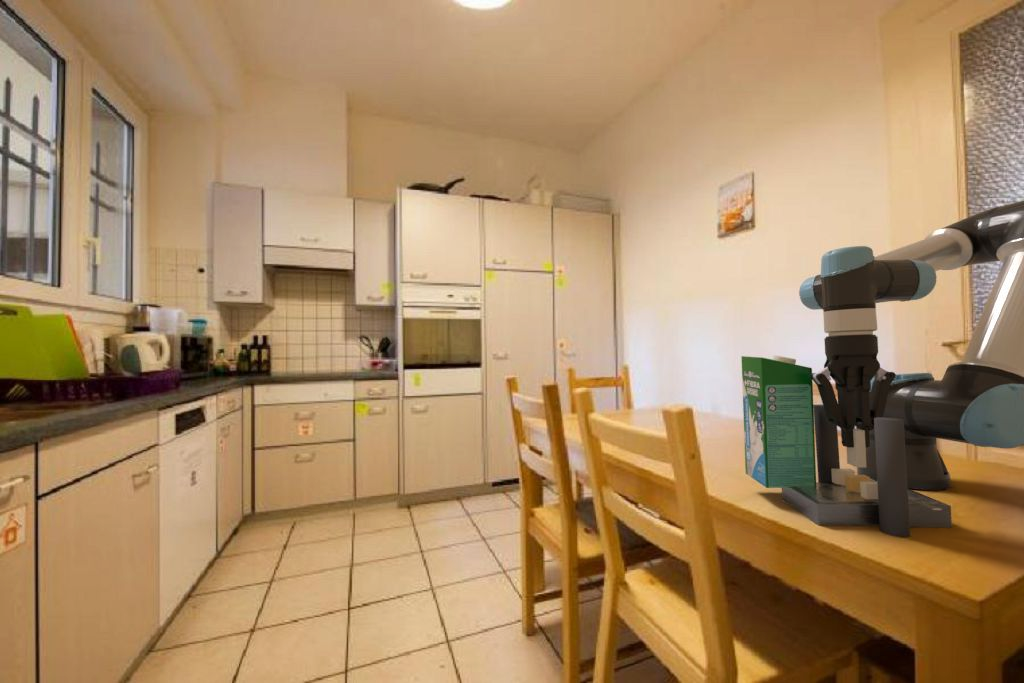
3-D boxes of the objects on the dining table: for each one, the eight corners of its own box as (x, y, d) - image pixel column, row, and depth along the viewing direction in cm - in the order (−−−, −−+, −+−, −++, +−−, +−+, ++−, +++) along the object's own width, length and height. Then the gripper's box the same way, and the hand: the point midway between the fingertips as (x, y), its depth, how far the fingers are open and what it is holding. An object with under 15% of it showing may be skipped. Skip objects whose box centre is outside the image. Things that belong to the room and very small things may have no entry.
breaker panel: (887, 497, 83) (886, 478, 83) (963, 532, 67) (962, 508, 67) (777, 496, 85) (776, 477, 85) (825, 530, 69) (824, 507, 69)
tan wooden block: (865, 488, 77) (864, 474, 77) (870, 491, 75) (869, 477, 75) (845, 488, 77) (844, 474, 77) (850, 491, 76) (850, 477, 76)
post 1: (834, 493, 86) (828, 404, 87) (846, 499, 82) (839, 406, 83) (815, 493, 86) (809, 404, 87) (826, 499, 83) (820, 406, 83)
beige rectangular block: (881, 496, 73) (880, 481, 73) (887, 499, 71) (886, 484, 71) (860, 496, 73) (860, 481, 73) (866, 499, 72) (865, 484, 72)
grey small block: (850, 482, 81) (849, 468, 81) (855, 484, 79) (854, 470, 79) (832, 481, 81) (831, 468, 81) (836, 484, 80) (835, 470, 80)
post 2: (898, 527, 69) (892, 417, 70) (916, 537, 66) (909, 420, 66) (874, 527, 70) (868, 417, 70) (890, 537, 66) (884, 421, 67)
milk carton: (816, 488, 80) (811, 355, 80) (766, 488, 81) (761, 356, 81) (790, 473, 89) (786, 354, 89) (745, 473, 90) (741, 355, 90)
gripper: (874, 333, 80) (881, 460, 79) (799, 336, 81) (805, 460, 81) (906, 331, 72) (914, 471, 72) (823, 334, 74) (830, 471, 73)
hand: (856, 465), depth 76 cm, fingers closed
